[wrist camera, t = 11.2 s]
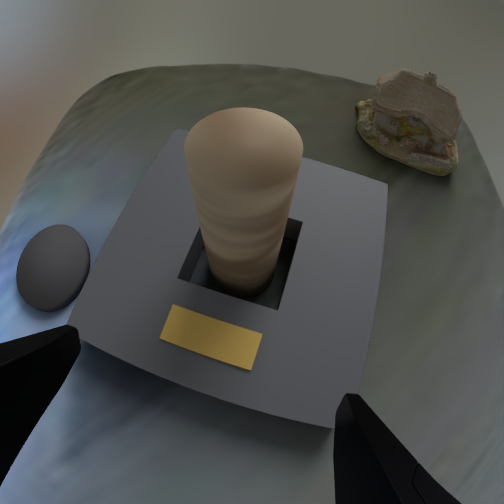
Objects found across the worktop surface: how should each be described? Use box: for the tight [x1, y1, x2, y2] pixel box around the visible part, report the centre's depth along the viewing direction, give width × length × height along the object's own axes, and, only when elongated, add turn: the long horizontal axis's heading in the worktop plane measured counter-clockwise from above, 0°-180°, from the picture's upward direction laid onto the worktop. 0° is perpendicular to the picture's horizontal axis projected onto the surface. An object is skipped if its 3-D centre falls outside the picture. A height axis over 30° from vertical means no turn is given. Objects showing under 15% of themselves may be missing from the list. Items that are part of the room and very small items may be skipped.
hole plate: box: [67, 129, 388, 429], centre depth 23 cm, size 20×20×3 cm
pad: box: [16, 225, 90, 312], centre depth 23 cm, size 8×8×1 cm
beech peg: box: [184, 108, 303, 297], centre depth 18 cm, size 5×5×13 cm
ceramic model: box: [356, 68, 462, 176], centre depth 28 cm, size 14×11×10 cm
